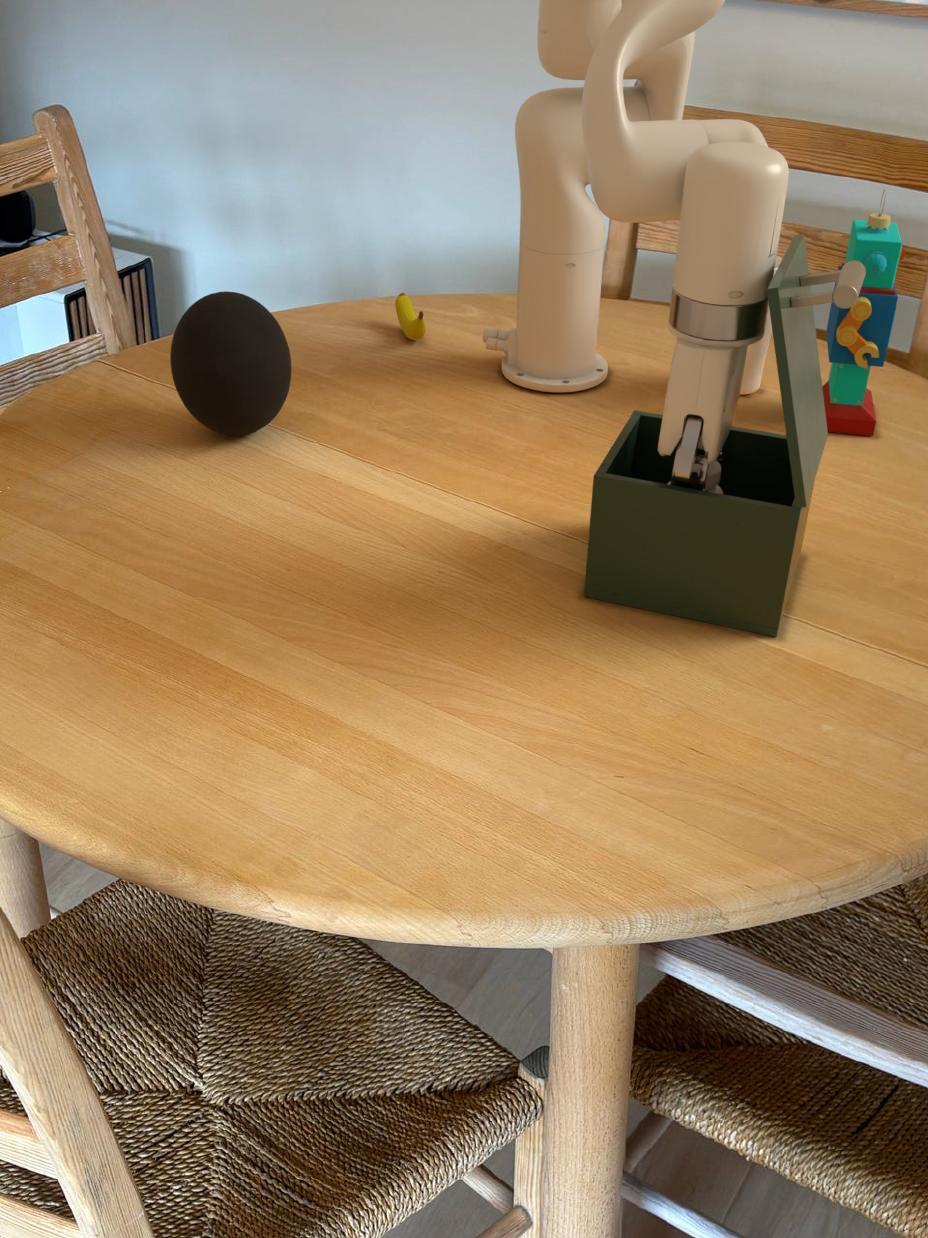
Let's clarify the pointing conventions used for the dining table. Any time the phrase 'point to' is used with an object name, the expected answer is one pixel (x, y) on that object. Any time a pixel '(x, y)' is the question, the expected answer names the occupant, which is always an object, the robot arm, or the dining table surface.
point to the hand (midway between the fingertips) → (691, 511)
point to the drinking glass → (757, 355)
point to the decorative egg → (230, 363)
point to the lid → (804, 355)
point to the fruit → (409, 318)
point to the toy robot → (862, 326)
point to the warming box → (696, 531)
